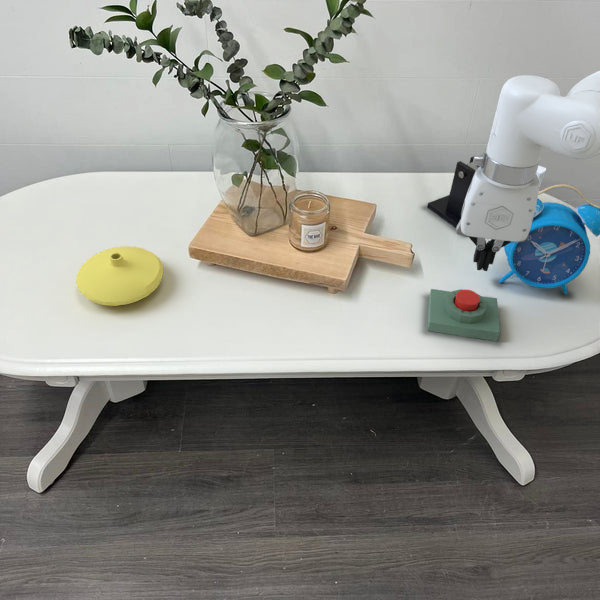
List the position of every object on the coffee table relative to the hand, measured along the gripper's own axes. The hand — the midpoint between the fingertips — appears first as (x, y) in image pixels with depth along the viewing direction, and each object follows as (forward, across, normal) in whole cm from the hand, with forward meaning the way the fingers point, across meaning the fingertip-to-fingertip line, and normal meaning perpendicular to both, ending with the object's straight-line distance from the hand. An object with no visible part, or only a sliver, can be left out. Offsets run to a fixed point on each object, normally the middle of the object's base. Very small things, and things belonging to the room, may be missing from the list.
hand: (481, 265), depth 95 cm
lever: (+5, +2, +31) cm, 32 cm away
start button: (+9, -1, 0) cm, 9 cm away
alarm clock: (+13, +13, +14) cm, 23 cm away
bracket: (+12, -1, +34) cm, 36 cm away
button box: (+13, -1, 0) cm, 13 cm away
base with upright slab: (+13, +10, +38) cm, 41 cm away
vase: (+12, -64, -5) cm, 65 cm away
